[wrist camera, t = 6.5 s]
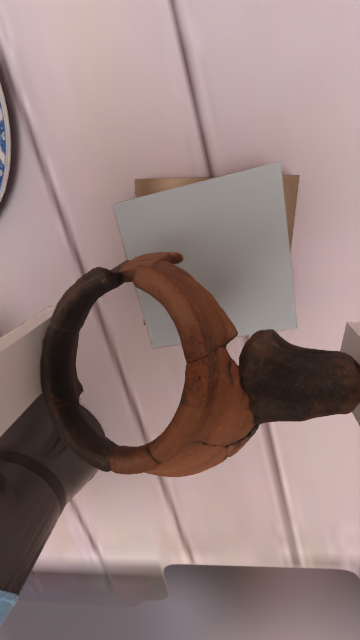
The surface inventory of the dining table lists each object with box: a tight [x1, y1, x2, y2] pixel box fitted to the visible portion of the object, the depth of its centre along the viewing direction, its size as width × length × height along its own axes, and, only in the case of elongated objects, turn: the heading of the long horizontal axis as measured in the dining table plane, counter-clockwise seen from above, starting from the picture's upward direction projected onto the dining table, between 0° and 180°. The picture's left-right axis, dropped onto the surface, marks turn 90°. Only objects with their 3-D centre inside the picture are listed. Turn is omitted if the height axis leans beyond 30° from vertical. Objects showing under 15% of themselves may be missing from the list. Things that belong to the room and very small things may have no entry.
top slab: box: [112, 161, 298, 348], centre depth 27 cm, size 13×13×4 cm
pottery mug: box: [40, 252, 360, 477], centre depth 13 cm, size 12×10×8 cm
